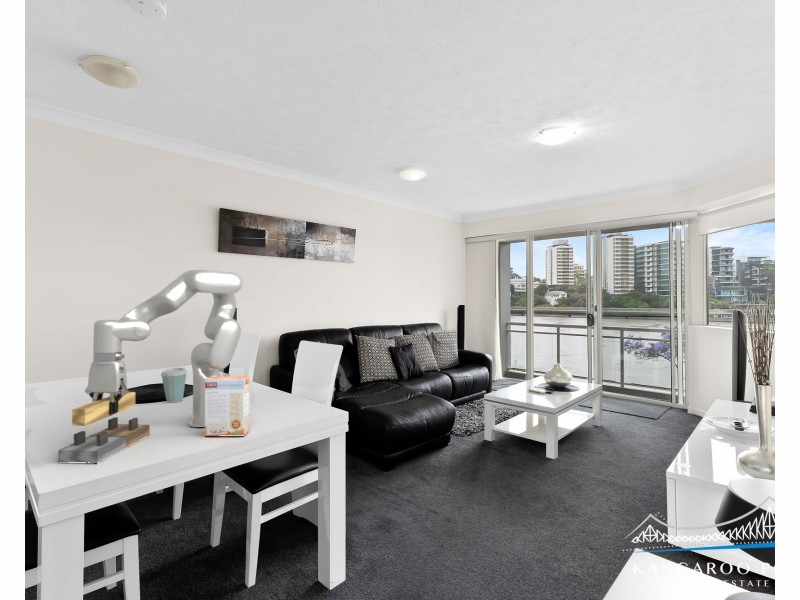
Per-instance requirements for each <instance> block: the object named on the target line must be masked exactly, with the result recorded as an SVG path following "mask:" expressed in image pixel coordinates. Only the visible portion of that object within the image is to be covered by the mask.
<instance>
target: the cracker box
mask: <svg viewBox="0 0 800 600" xmlns="http://www.w3.org/2000/svg"><path fill="white" fill-rule="evenodd" d="M248 431H249V432H250V376H220V377H210V378H208V379H206V380H205V428H204V436H219V435H245V434H246V433H247V432H248ZM249 432H248V433H249ZM248 433H247V434H248ZM247 434H246V435H247ZM246 435H245V436H246Z"/></svg>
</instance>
